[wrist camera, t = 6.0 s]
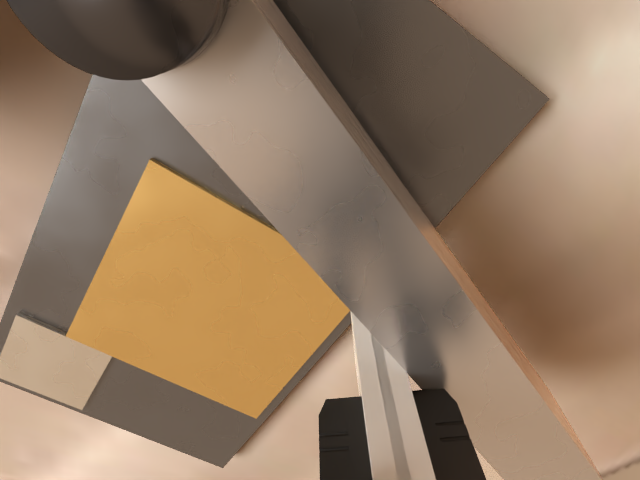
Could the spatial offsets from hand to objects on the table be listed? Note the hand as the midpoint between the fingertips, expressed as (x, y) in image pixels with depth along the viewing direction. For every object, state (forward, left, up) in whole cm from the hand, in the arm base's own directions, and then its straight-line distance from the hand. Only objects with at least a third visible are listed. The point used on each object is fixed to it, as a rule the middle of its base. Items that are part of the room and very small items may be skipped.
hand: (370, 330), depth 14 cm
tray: (+2, -6, -3) cm, 7 cm away
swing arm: (-3, -2, -1) cm, 4 cm away
